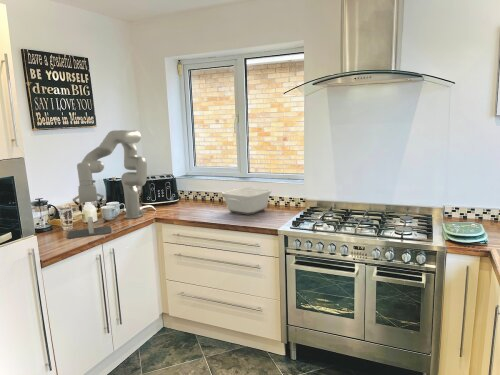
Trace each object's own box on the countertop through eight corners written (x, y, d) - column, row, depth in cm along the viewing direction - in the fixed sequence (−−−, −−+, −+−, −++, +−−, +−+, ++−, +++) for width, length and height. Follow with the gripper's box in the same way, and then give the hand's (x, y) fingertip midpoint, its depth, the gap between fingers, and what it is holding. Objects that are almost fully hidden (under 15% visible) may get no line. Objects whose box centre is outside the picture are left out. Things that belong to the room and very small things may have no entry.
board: (93, 233, 224) (92, 220, 223) (89, 233, 223) (87, 220, 222) (93, 229, 233) (92, 216, 232) (89, 229, 232) (87, 217, 231)
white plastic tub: (248, 219, 245) (248, 197, 242) (216, 214, 262) (215, 193, 259) (277, 209, 272) (276, 189, 269) (246, 204, 289) (245, 186, 286)
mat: (110, 226, 240) (110, 225, 239) (111, 233, 225) (111, 232, 225) (69, 231, 231) (69, 231, 231) (67, 239, 216) (67, 238, 216)
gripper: (101, 180, 230) (105, 207, 233) (70, 183, 223) (74, 211, 227) (101, 182, 223) (105, 210, 226) (69, 185, 217) (74, 214, 220)
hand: (90, 210), depth 227 cm, fingers open, 9 cm apart
